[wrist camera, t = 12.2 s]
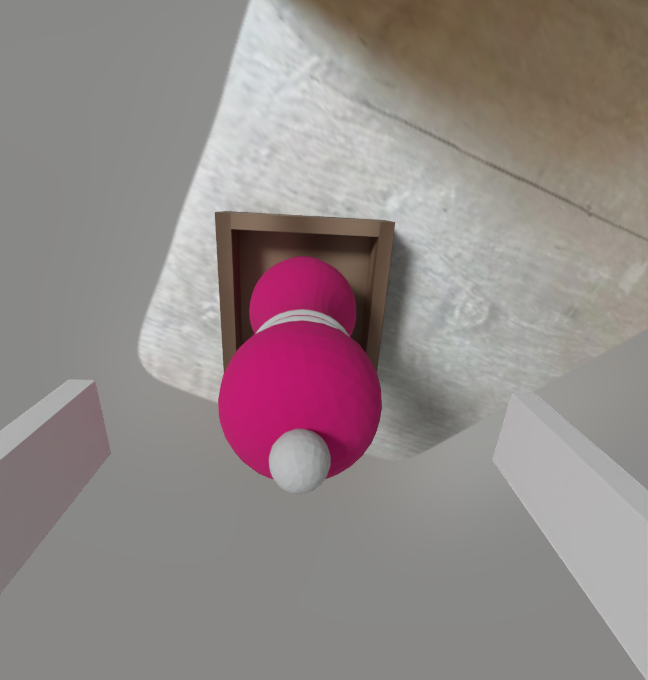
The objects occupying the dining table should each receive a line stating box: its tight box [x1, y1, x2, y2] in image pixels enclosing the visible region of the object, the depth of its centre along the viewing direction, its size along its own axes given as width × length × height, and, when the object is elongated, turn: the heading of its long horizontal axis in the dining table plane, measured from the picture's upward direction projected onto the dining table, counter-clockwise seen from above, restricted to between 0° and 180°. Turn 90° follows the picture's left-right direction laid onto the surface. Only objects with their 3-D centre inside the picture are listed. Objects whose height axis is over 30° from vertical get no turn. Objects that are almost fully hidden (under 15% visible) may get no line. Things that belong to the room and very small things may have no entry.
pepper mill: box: [218, 256, 382, 494], centre depth 18 cm, size 7×7×20 cm
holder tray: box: [215, 211, 395, 372], centre depth 27 cm, size 12×12×4 cm
